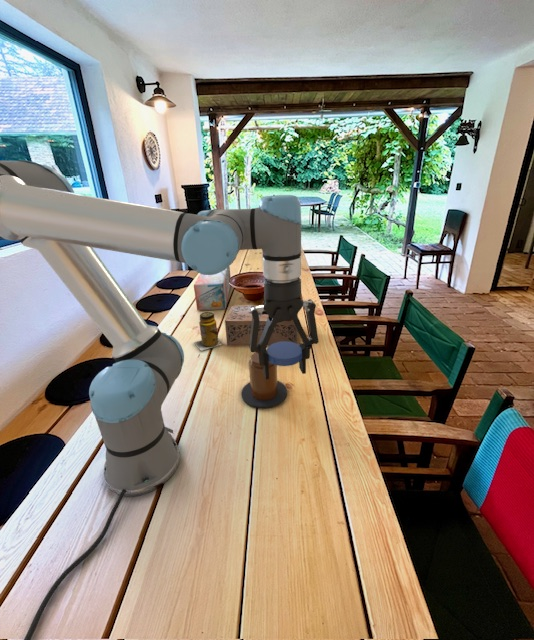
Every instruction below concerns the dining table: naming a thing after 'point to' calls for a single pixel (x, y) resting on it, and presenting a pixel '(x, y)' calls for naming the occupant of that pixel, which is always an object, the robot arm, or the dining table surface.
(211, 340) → the condiment
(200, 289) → the soda box
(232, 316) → the tissue box cover
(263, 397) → the jar
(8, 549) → the dining table surface
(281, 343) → the lid
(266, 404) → the coaster
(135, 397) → the robot arm
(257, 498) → the dining table surface
